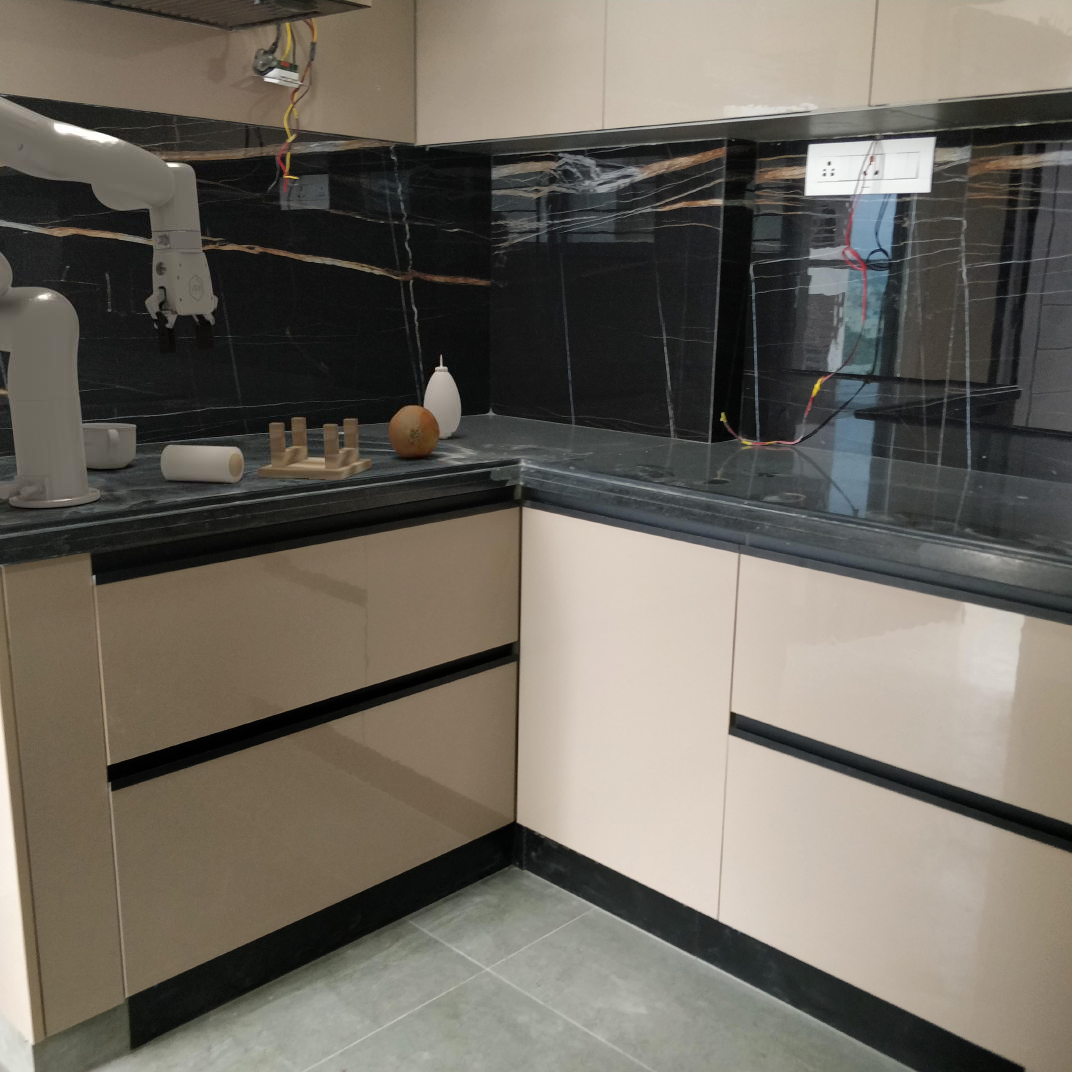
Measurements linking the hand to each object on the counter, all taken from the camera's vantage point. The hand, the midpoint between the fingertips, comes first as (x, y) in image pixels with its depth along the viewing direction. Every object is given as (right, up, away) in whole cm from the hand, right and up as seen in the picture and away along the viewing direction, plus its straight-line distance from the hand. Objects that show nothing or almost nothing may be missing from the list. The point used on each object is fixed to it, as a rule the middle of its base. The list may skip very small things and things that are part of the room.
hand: (188, 350), depth 176 cm
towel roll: (+2, -19, +3) cm, 19 cm away
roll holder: (+19, -19, +11) cm, 29 cm away
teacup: (-20, -19, +16) cm, 32 cm away
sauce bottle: (+37, -10, +56) cm, 68 cm away
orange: (+34, -16, +28) cm, 47 cm away
